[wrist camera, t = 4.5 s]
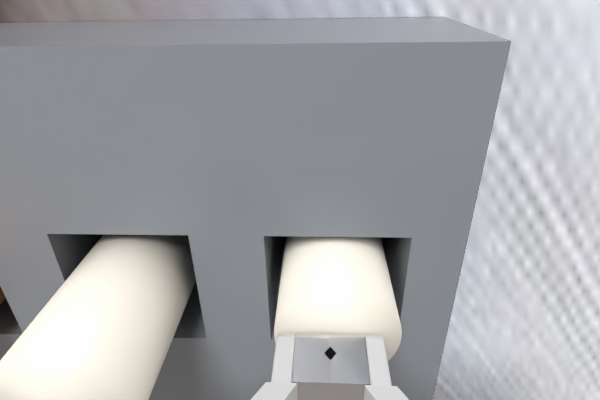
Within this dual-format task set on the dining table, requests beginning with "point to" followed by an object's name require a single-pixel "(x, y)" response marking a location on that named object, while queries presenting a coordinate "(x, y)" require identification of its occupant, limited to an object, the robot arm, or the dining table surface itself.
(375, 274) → the ivory plug
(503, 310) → the dining table surface
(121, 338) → the ivory plug
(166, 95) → the panel
